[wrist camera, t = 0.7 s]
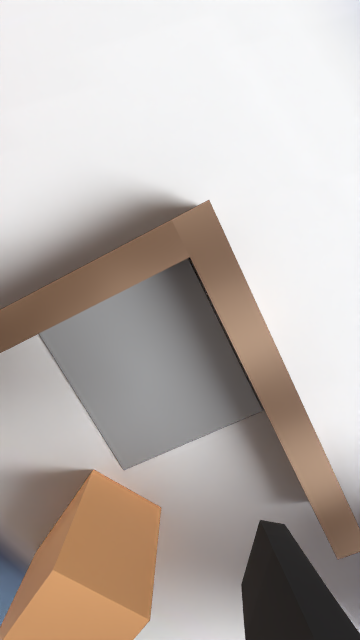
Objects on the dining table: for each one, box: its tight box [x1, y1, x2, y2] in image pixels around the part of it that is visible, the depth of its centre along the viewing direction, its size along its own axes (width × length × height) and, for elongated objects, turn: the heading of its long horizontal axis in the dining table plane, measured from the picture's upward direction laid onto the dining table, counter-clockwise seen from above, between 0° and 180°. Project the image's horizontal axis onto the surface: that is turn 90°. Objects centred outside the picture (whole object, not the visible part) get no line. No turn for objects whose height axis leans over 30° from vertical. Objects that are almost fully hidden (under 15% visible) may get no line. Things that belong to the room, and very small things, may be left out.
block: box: [0, 470, 161, 640], centre depth 17 cm, size 4×7×6 cm, turn 147°
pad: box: [39, 258, 262, 470], centre depth 18 cm, size 9×8×1 cm
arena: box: [0, 200, 360, 559], centre depth 17 cm, size 17×17×4 cm
